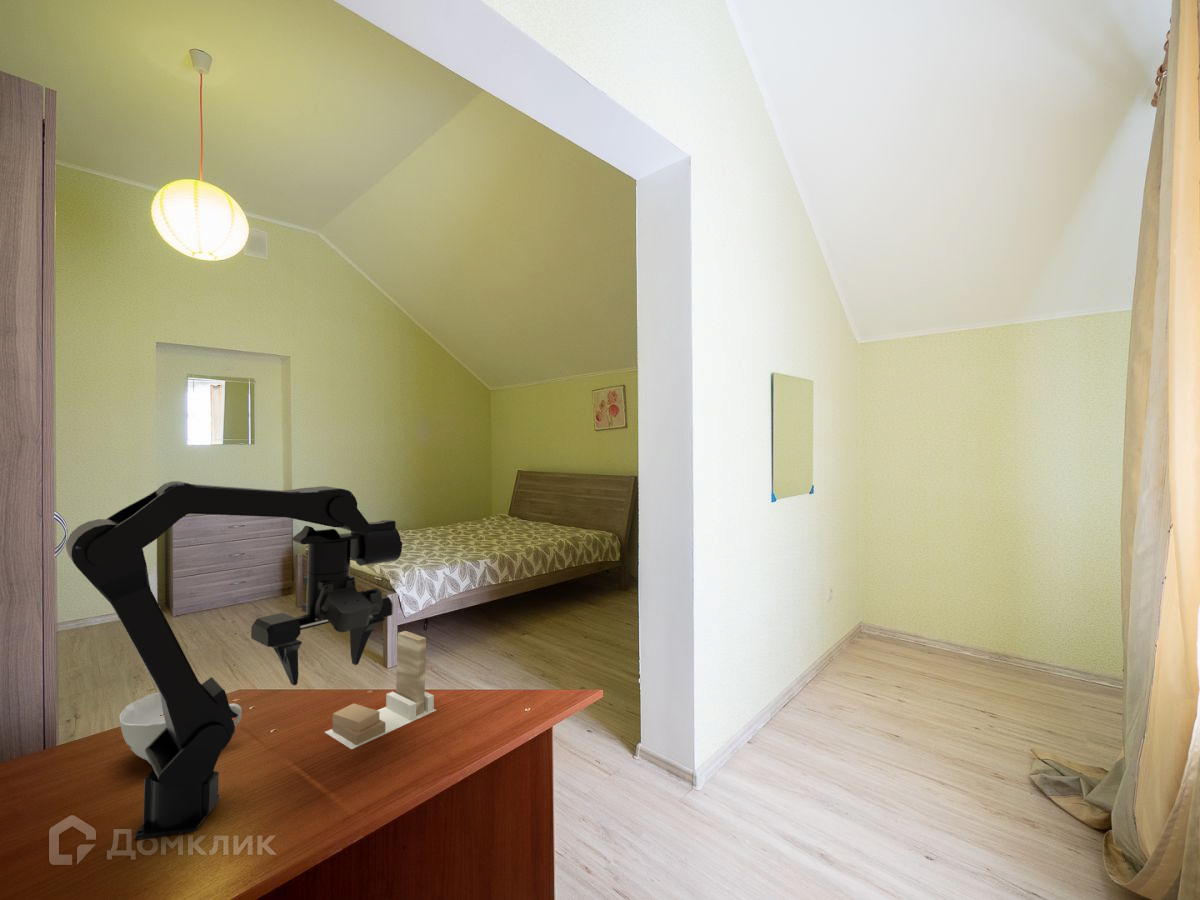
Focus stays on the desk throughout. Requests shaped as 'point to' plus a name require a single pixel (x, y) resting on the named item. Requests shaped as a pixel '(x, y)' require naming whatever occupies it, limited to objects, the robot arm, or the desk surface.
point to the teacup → (148, 722)
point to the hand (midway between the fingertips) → (326, 673)
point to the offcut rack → (375, 719)
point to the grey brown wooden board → (411, 668)
